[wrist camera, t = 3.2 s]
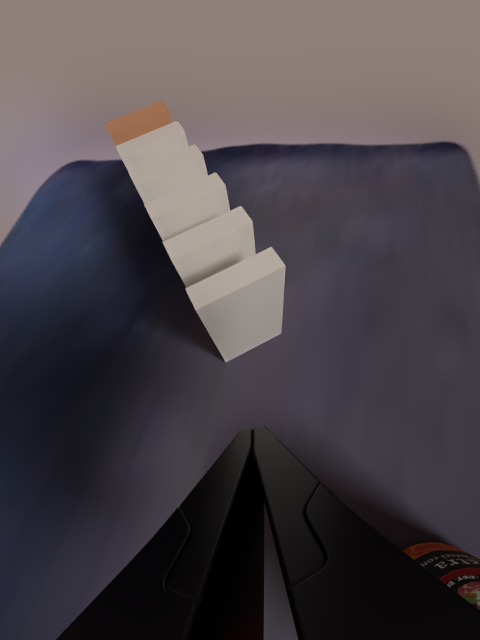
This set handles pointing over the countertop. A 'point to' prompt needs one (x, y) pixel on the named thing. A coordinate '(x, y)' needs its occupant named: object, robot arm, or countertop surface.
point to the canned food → (450, 568)
